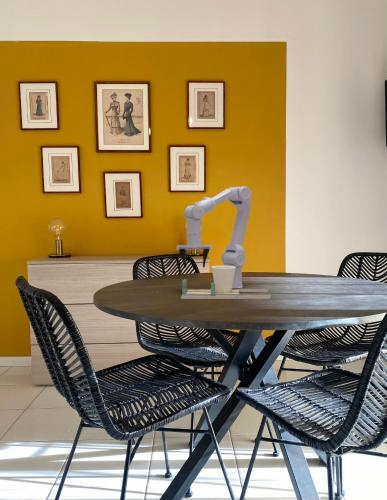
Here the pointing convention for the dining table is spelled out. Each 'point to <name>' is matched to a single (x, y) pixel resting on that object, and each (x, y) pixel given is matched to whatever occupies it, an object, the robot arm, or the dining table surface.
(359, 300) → the dining table surface
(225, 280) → the cup
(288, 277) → the dining table surface
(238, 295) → the lane rails
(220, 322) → the dining table surface
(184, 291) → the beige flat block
